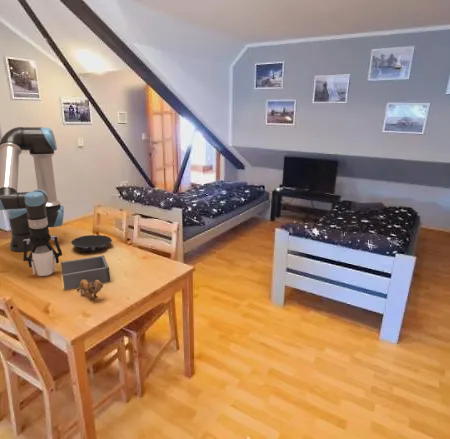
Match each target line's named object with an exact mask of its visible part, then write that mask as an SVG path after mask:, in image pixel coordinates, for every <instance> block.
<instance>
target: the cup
mask: <svg viewBox="0 0 450 439" xmlns="http://www.w3.org/2000/svg"><path fill="white" fill-rule="evenodd" d="M32 259H33V262H34V268H35V272H36V274H37V276H39V277H45V276H50V275H51V274H53V273H54V269H55V263H54V255H53V250H51V251H50V250H49V248H48V247H47V246H46V245H45V246H40V247H37V248H36V250H35V252H34V253H32Z"/></svg>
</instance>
